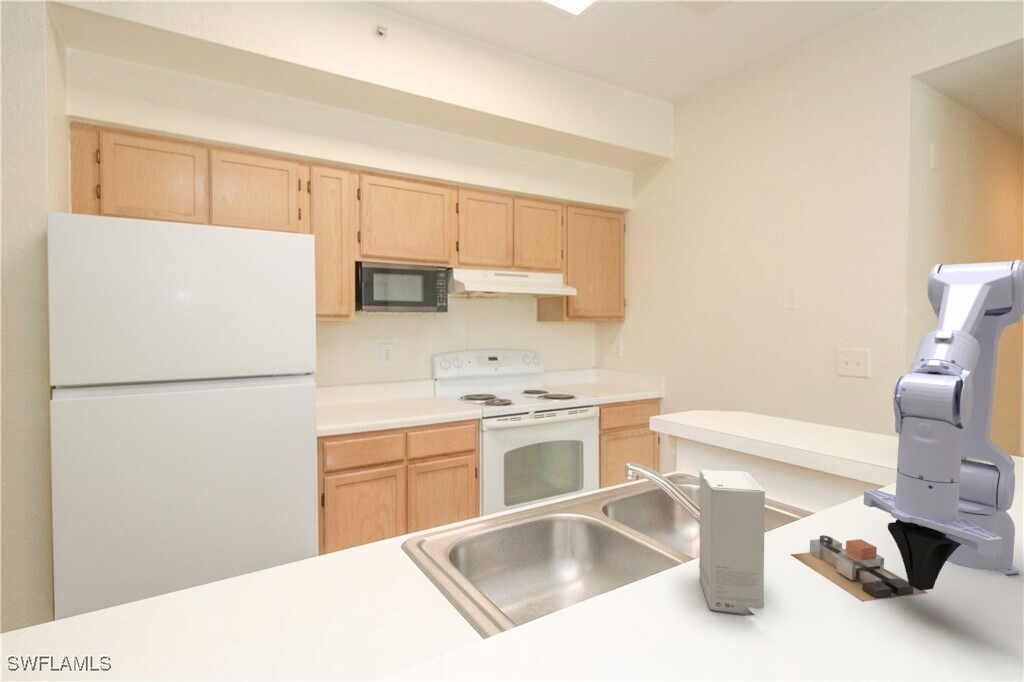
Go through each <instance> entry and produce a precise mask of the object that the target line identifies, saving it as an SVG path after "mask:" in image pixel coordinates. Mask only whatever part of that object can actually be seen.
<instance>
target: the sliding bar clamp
mask: <svg viewBox="0 0 1024 682" xmlns="http://www.w3.org/2000/svg"><path fill="white" fill-rule="evenodd" d="M845 549H846V548H843V543H842V542H840V541H839V540H836V539H835V538H833V537H831V536H829V535H820V536H819V539H810V540H809V552H810V554H812V555H813V556H815V557H816V558H818V559H822V560H823V561H825V562H827V563H828V564H830V565H832V566H833V567H835V568H837V555H838V553H841V552H846V550H845ZM902 579H903V578H902ZM902 579H896V578H895V577H893V576H891V575H890V574H888V573H886V572H884V571H882V570H881V569H879V568H877V567H875V566H873V567H864V568H856V581H858V582H859V583H861V584H863V586H862V591H864V592H866V593H867V594H869V595H870V596H872V597H874V598H882V597H890V596H891V592H892V593H894V594H896V595H897V596H898V595H906V594H913V587H912V586H911V585H909V583H907V582H905V581H904V580H905V579H904V580H902Z"/></svg>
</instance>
